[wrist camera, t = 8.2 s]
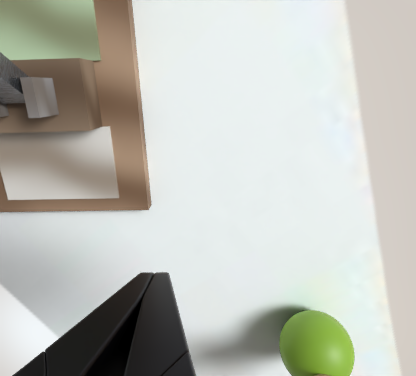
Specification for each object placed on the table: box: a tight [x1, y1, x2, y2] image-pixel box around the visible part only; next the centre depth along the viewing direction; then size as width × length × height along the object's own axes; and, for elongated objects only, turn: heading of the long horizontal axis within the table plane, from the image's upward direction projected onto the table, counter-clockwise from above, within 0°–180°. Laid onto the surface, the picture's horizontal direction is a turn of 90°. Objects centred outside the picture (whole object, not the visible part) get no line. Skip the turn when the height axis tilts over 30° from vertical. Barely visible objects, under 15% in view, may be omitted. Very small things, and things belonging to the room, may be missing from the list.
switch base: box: [0, 0, 151, 212], centre depth 18 cm, size 16×12×5 cm
